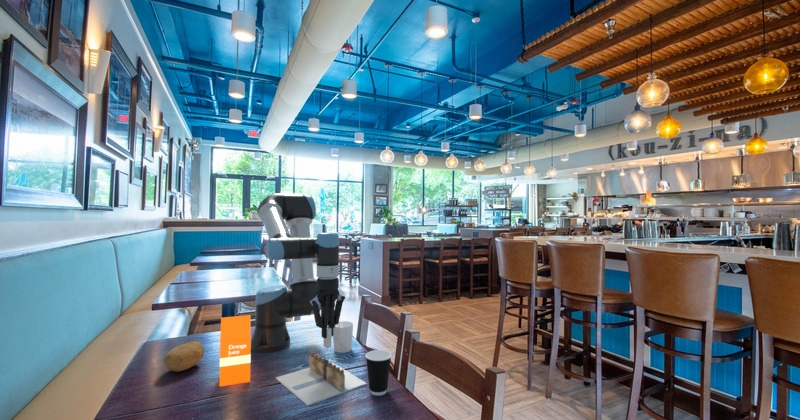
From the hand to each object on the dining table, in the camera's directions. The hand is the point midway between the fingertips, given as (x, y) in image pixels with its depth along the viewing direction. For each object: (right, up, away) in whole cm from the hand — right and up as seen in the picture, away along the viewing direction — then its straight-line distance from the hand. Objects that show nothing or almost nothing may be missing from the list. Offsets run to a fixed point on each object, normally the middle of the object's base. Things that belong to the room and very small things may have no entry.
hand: (327, 346), depth 125 cm
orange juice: (-28, -8, -8) cm, 30 cm away
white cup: (+2, -8, +18) cm, 20 cm away
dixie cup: (+18, -8, -16) cm, 26 cm away
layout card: (0, -7, -10) cm, 12 cm away
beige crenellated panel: (-3, -7, -4) cm, 8 cm away
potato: (-49, -7, -1) cm, 49 cm away
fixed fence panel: (+4, -7, -12) cm, 15 cm away
